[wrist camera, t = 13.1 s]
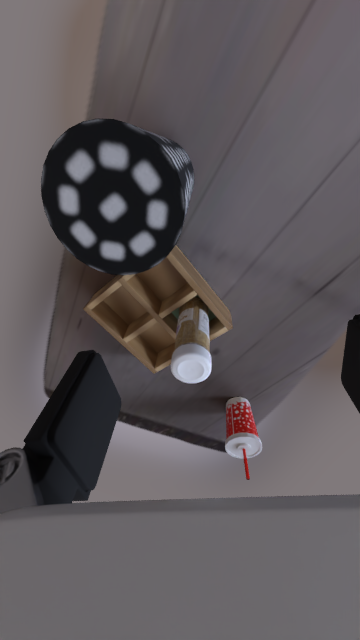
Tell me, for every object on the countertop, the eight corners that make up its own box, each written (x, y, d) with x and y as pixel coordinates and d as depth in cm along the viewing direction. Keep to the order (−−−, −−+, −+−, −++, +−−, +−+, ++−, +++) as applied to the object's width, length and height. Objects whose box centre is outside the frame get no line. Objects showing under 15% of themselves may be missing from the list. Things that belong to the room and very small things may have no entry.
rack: (167, 233, 36) (162, 243, 32) (230, 311, 41) (232, 327, 38) (93, 294, 42) (82, 309, 38) (157, 355, 47) (153, 374, 43)
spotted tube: (155, 228, 36) (112, 297, 19) (111, 170, 32) (11, 191, 15) (207, 186, 33) (213, 224, 16) (165, 118, 29) (114, 73, 12)
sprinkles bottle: (178, 295, 40) (169, 353, 28) (209, 296, 39) (212, 354, 28) (179, 321, 42) (171, 384, 31) (208, 322, 42) (211, 385, 30)
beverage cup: (232, 419, 55) (241, 493, 43) (215, 402, 52) (219, 475, 41) (259, 408, 52) (276, 482, 41) (243, 389, 50) (255, 463, 38)
